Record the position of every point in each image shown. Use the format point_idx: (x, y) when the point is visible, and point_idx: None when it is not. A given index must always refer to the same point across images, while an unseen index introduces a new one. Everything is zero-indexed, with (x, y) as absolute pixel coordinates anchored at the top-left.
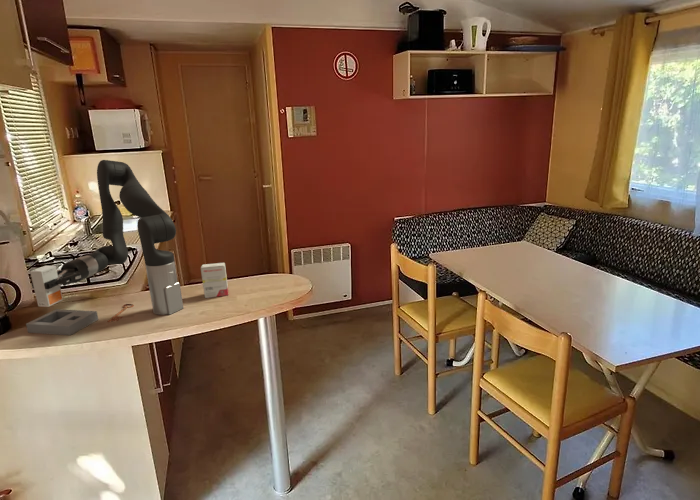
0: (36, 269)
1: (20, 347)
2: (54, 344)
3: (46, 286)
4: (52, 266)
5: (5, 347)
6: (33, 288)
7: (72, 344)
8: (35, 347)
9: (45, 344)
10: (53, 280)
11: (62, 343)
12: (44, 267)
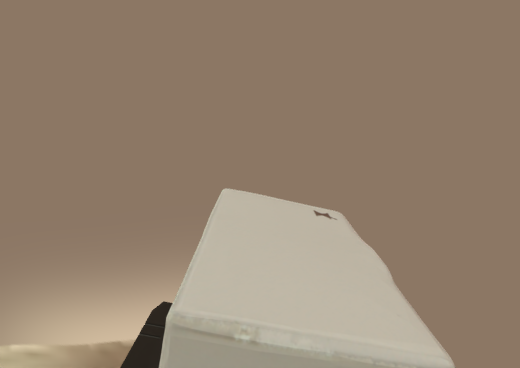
0: (340, 231)
1: None
2: (84, 356)
3: None
4: (218, 284)
5: None
6: None
7: (5, 350)
8: None
9: (121, 359)
10: (152, 359)
11: (51, 361)
12: (314, 259)
